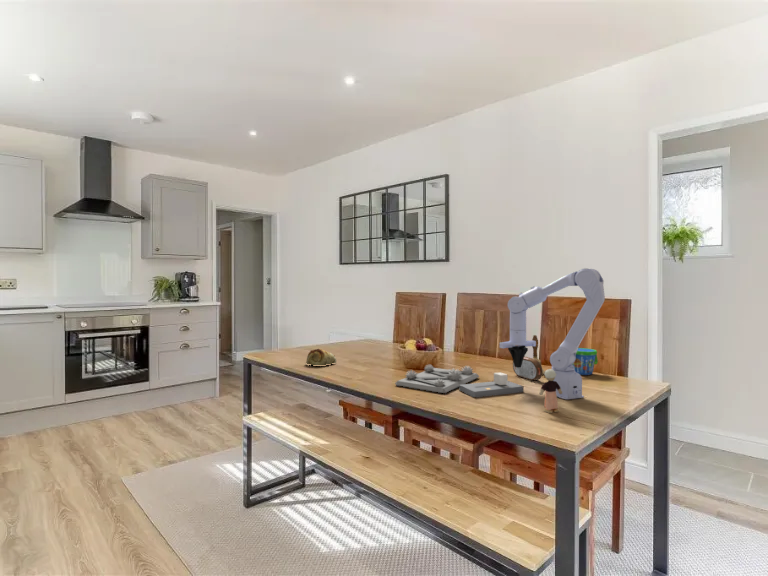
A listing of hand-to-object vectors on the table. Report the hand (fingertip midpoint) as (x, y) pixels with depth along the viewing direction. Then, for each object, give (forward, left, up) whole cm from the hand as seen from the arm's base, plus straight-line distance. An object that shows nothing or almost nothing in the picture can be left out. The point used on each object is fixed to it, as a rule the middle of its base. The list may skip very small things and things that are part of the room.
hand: (517, 366), depth 154 cm
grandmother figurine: (-26, +8, -8) cm, 29 cm away
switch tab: (0, +7, -5) cm, 9 cm away
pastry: (+70, +58, -8) cm, 91 cm away
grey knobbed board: (+19, +22, -9) cm, 31 cm away
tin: (+12, -14, -8) cm, 20 cm away
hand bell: (+19, -24, -8) cm, 31 cm away
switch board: (0, +11, -8) cm, 14 cm away
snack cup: (+10, -41, -8) cm, 43 cm away
